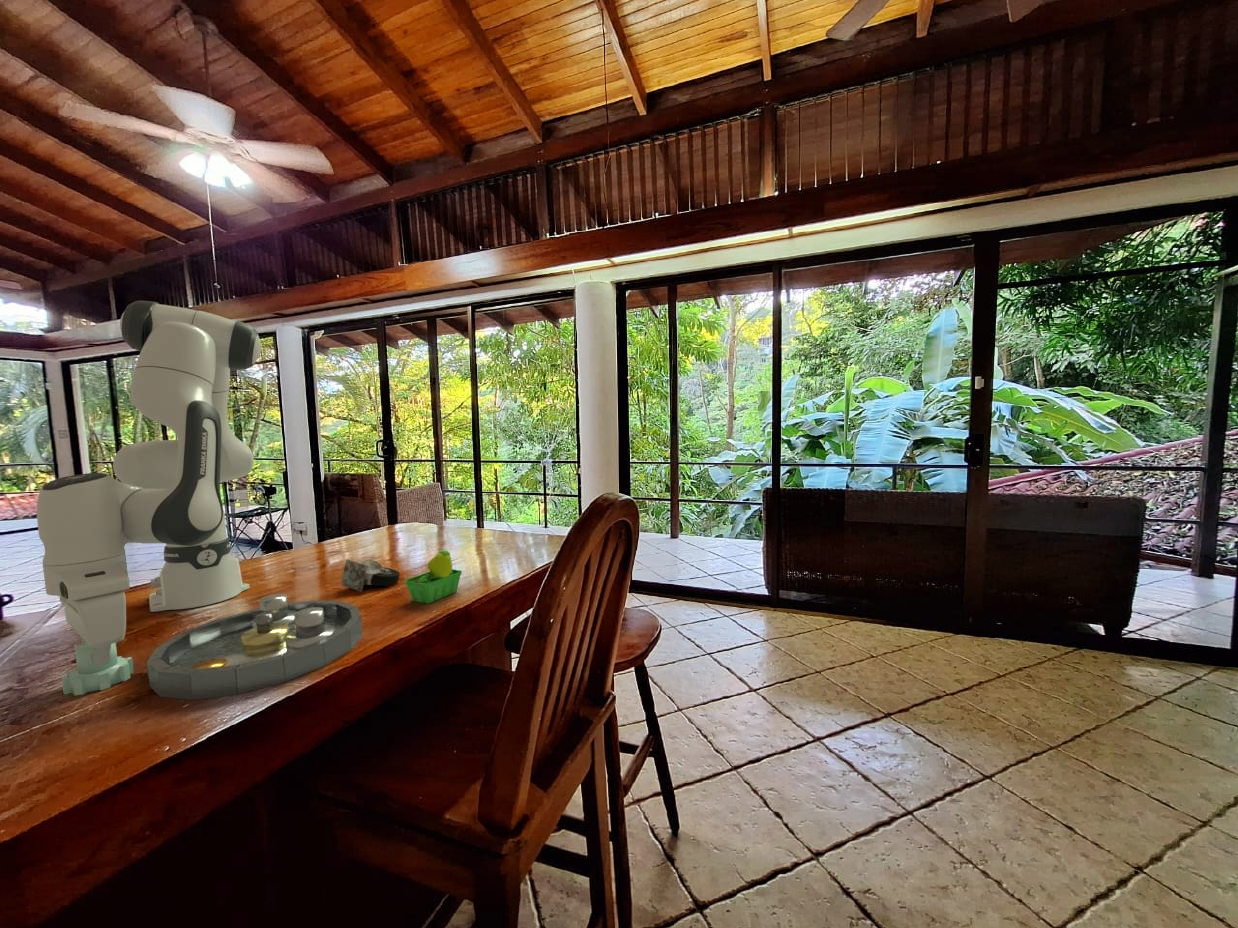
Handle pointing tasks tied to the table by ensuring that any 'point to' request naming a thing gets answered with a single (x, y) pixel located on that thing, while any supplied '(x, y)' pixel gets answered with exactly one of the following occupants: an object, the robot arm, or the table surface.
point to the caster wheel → (367, 575)
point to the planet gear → (96, 672)
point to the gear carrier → (254, 648)
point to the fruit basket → (435, 580)
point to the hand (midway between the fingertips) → (97, 659)
